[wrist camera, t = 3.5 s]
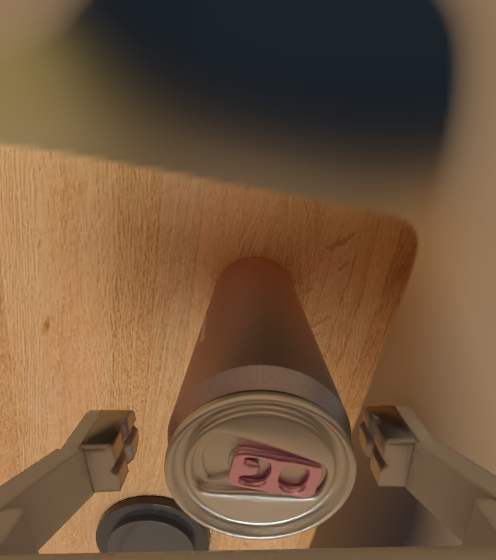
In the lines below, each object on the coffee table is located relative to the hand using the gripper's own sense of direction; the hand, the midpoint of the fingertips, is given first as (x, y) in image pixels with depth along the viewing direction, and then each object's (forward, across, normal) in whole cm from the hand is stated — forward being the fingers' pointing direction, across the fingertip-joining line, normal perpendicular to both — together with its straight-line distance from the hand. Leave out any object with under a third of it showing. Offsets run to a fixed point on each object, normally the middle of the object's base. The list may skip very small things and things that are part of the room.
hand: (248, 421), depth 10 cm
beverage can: (+13, -1, 0) cm, 13 cm away
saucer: (+13, +10, +28) cm, 33 cm away
